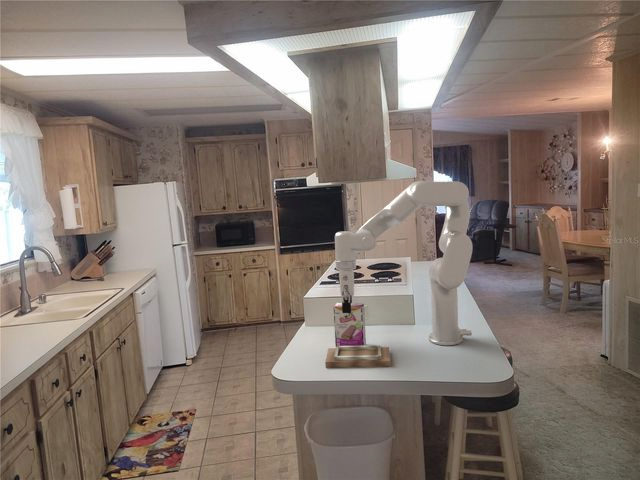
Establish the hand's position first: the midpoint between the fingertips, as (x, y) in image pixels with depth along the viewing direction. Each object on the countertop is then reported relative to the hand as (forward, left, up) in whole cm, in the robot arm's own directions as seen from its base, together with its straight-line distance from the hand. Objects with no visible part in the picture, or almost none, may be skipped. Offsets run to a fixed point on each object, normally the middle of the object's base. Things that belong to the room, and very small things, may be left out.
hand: (347, 309), depth 163 cm
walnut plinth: (-4, +13, -15) cm, 20 cm away
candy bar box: (-1, 0, -15) cm, 15 cm away
